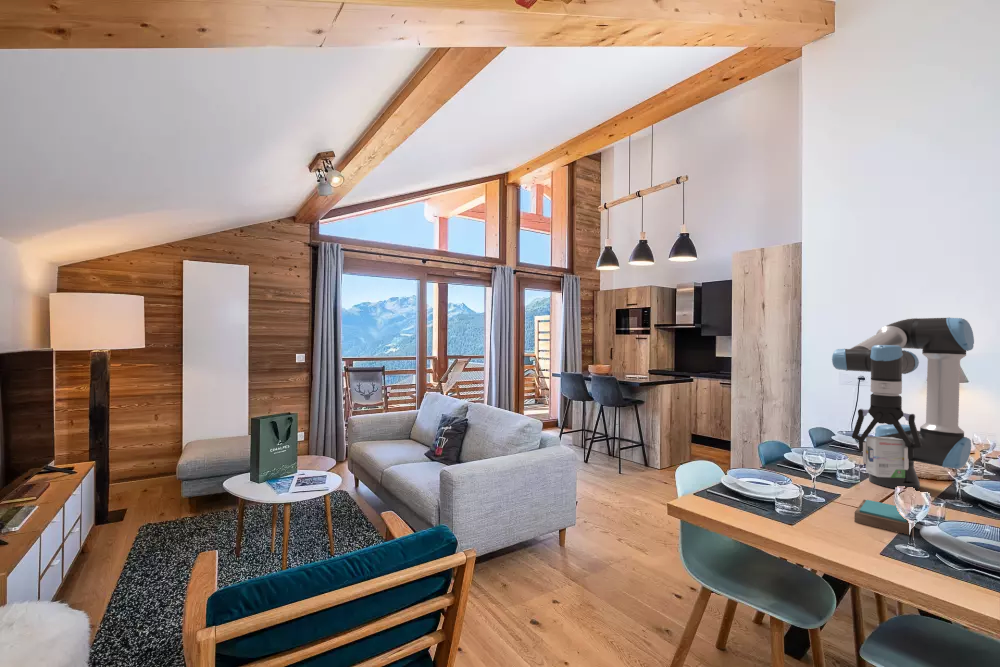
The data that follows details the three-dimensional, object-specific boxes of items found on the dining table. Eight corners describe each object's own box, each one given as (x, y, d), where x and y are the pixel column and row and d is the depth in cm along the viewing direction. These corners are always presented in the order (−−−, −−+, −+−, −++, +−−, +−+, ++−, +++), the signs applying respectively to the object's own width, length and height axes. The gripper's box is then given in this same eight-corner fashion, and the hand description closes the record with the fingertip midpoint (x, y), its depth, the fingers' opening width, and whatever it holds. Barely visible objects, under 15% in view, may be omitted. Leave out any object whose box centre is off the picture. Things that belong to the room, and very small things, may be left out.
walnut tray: (863, 508, 155) (863, 497, 155) (915, 520, 146) (915, 508, 146) (854, 521, 144) (854, 510, 144) (909, 535, 135) (910, 523, 135)
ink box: (876, 477, 143) (876, 439, 143) (864, 472, 148) (865, 435, 148) (906, 478, 142) (906, 440, 142) (893, 473, 147) (894, 436, 147)
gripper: (840, 391, 150) (839, 460, 150) (932, 399, 134) (932, 476, 134) (845, 389, 155) (844, 456, 155) (934, 396, 139) (934, 470, 139)
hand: (885, 465), depth 145 cm, fingers closed on ink box, 9 cm apart
